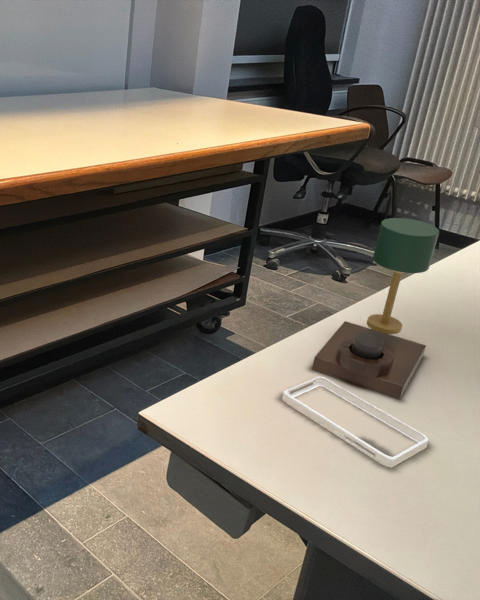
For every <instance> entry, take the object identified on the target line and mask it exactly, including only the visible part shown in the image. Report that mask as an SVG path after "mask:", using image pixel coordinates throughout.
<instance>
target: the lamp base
mask: <svg viewBox="0 0 480 600" xmlns="http://www.w3.org/2000/svg"><path fill="white" fill-rule="evenodd" d="M359 333H368V334H373V335H376V336H378V337H380V338H381V339H382V340H383V341H384V346H383V350H382V354H381V357H380V359H377V360H370V359H364V358H361V357H358V356H356V355H354V354H353V353H351V347H352V343H353V339H354V336H355V335H356V334H359ZM426 347H427V345H426V344H422V343H419V342H416V341H413V340H410V339H407V338H403V337H399V336H396V335H394V334H384V333H380V332H377V331H374V330H372V329H371V328H369V327H366V326H363V325H360V324H356V323H352V322H349V321H346V320H345V321H343V323H342V324H341V325H340V326H339V327H338V329H337V330H336V331H335V332H334V333H333V335H332V336H331V337H330V338H329V339H328V341H327V342H326V343H325V344H324V345H323V346H322V347H321V349H319V351H318V352H317V354H316V355H314V358H313V363H312V367H311V370H312V371H315V372H318V373H319V374H320V373H321V374H323V375H327V376H330V377H332V378H335V379H338V380H340V381H344V382H347V383H349V384H352V385H356V386H358V387H361V388H363V389H367V390H370V391H373V392H375V393H379V394H382V395H385V396H388V397H391V398H394V399H396V400H399V401H400V400H401V398H402V396H403V395H404V393H405V391H406V389H407V387H408V385H409V383H410V382H411V380H412V378H413V376H414V374H415V372H416V370H417V369H418V367H419V365H420V363H421V362H422V359H423V357H424V354H425V351H426Z"/></svg>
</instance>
